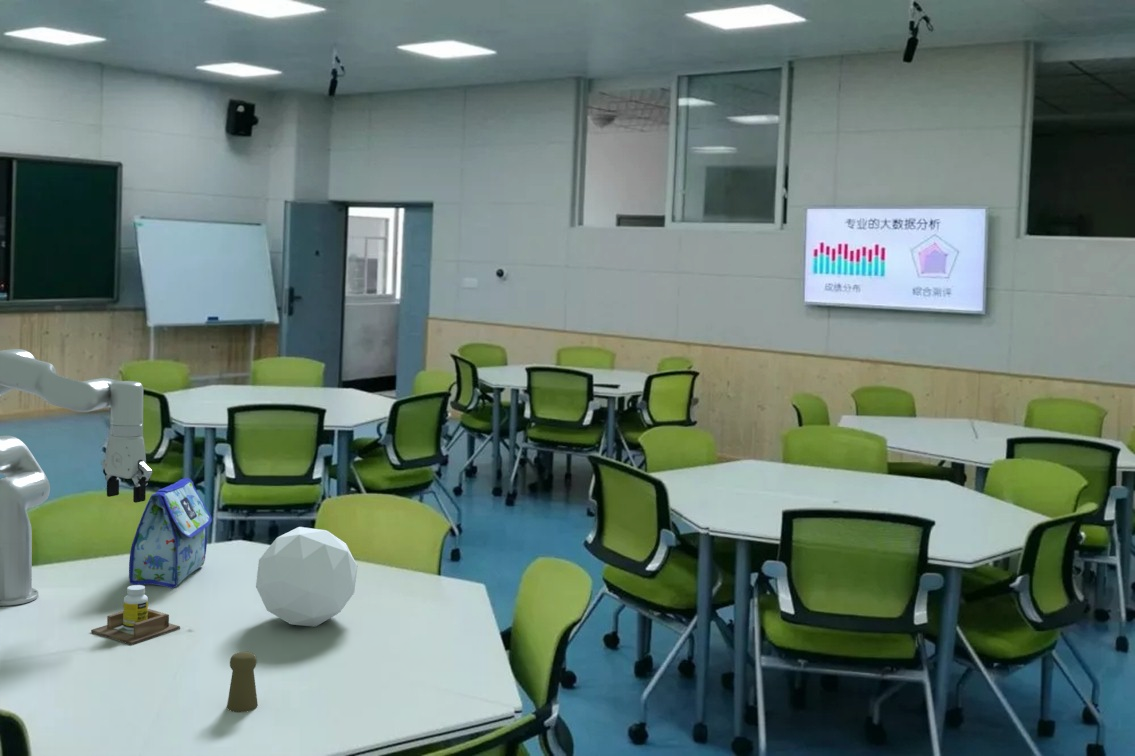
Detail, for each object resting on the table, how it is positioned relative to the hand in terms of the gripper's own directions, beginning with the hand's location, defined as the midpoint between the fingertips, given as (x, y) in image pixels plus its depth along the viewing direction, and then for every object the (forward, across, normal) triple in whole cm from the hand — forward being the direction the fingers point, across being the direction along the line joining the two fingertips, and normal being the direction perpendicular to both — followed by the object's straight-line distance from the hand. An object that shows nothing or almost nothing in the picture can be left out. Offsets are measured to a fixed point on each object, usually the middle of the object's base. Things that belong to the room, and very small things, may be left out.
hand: (126, 498), depth 274 cm
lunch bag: (+29, -13, +26) cm, 41 cm away
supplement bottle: (+28, +15, -9) cm, 33 cm away
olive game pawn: (+28, +67, -26) cm, 77 cm away
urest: (+28, +15, -9) cm, 33 cm away
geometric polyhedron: (+28, +42, +20) cm, 55 cm away
